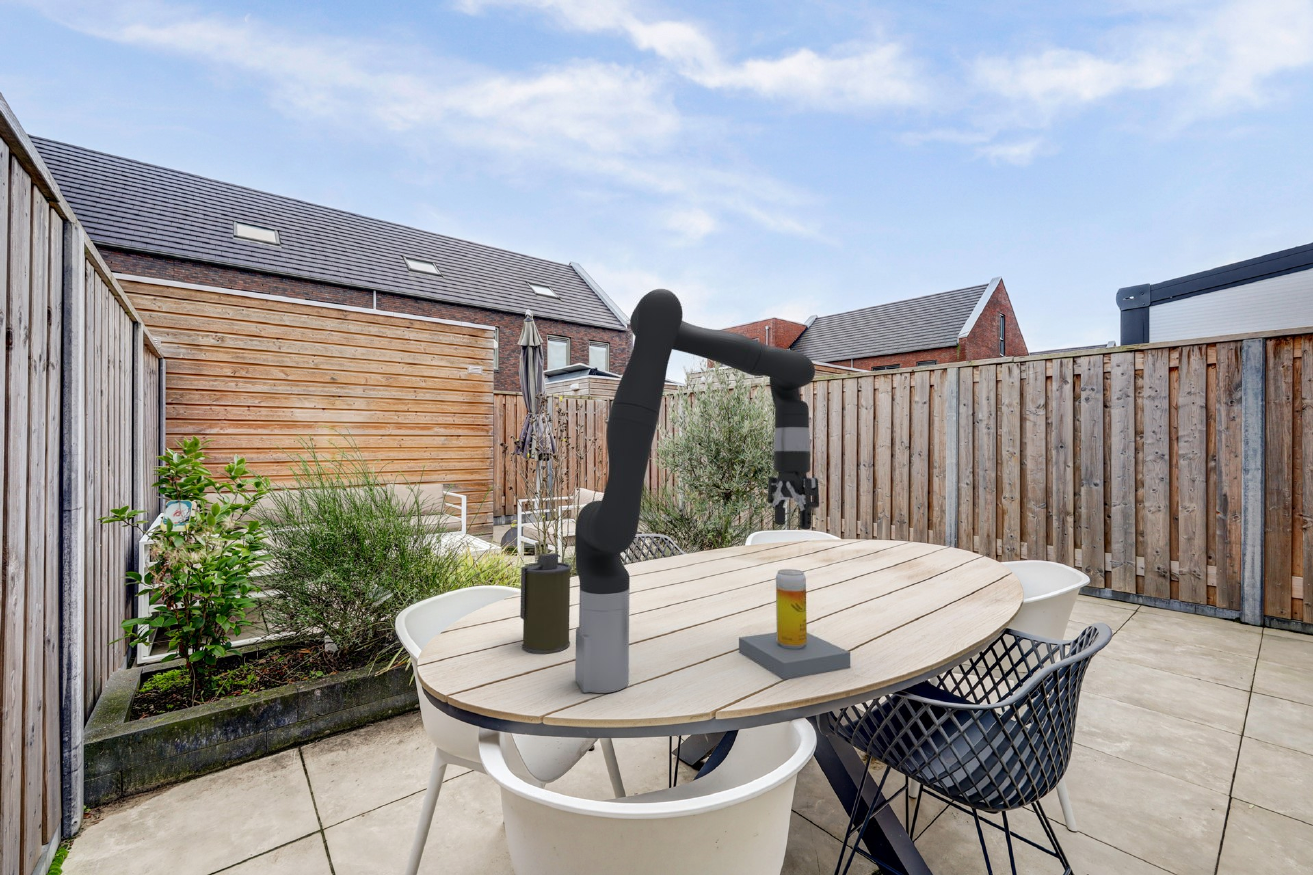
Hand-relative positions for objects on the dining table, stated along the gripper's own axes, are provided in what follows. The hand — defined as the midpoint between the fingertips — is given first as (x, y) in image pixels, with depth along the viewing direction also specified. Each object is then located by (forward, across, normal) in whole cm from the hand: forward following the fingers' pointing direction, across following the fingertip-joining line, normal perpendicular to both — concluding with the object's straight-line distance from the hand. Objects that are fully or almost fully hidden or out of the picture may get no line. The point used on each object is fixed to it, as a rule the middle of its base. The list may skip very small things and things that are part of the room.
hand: (792, 526), depth 111 cm
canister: (+28, +27, +46) cm, 60 cm away
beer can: (+24, 0, 0) cm, 25 cm away
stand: (+27, 0, 0) cm, 27 cm away
